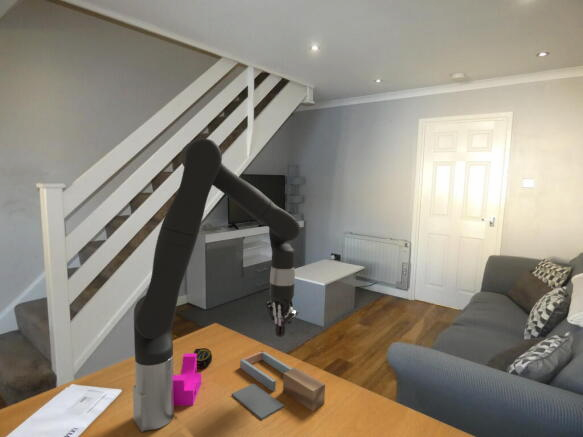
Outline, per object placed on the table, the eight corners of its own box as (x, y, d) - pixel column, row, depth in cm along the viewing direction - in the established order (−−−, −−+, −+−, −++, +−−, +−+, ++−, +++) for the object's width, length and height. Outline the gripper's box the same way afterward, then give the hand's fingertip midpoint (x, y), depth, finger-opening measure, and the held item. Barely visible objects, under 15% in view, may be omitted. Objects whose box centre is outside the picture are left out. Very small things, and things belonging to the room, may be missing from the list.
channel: (272, 391, 103) (273, 382, 102) (240, 368, 115) (240, 359, 115) (295, 379, 109) (296, 370, 109) (262, 358, 121) (262, 350, 121)
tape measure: (195, 354, 120) (195, 346, 119) (214, 356, 120) (214, 348, 118) (188, 369, 114) (187, 360, 113) (208, 371, 113) (207, 362, 112)
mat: (261, 420, 90) (261, 418, 90) (231, 395, 100) (231, 393, 100) (284, 406, 96) (284, 405, 96) (253, 384, 106) (253, 383, 106)
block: (312, 411, 94) (313, 391, 94) (283, 392, 103) (283, 373, 102) (324, 404, 98) (325, 384, 97) (294, 385, 106) (295, 367, 106)
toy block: (193, 405, 96) (193, 380, 95) (170, 405, 95) (170, 380, 94) (204, 375, 110) (204, 353, 110) (184, 375, 110) (184, 353, 109)
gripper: (259, 278, 107) (257, 331, 108) (287, 288, 97) (285, 347, 99) (277, 274, 112) (275, 325, 113) (306, 284, 102) (303, 340, 104)
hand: (280, 335), depth 106 cm, fingers closed
